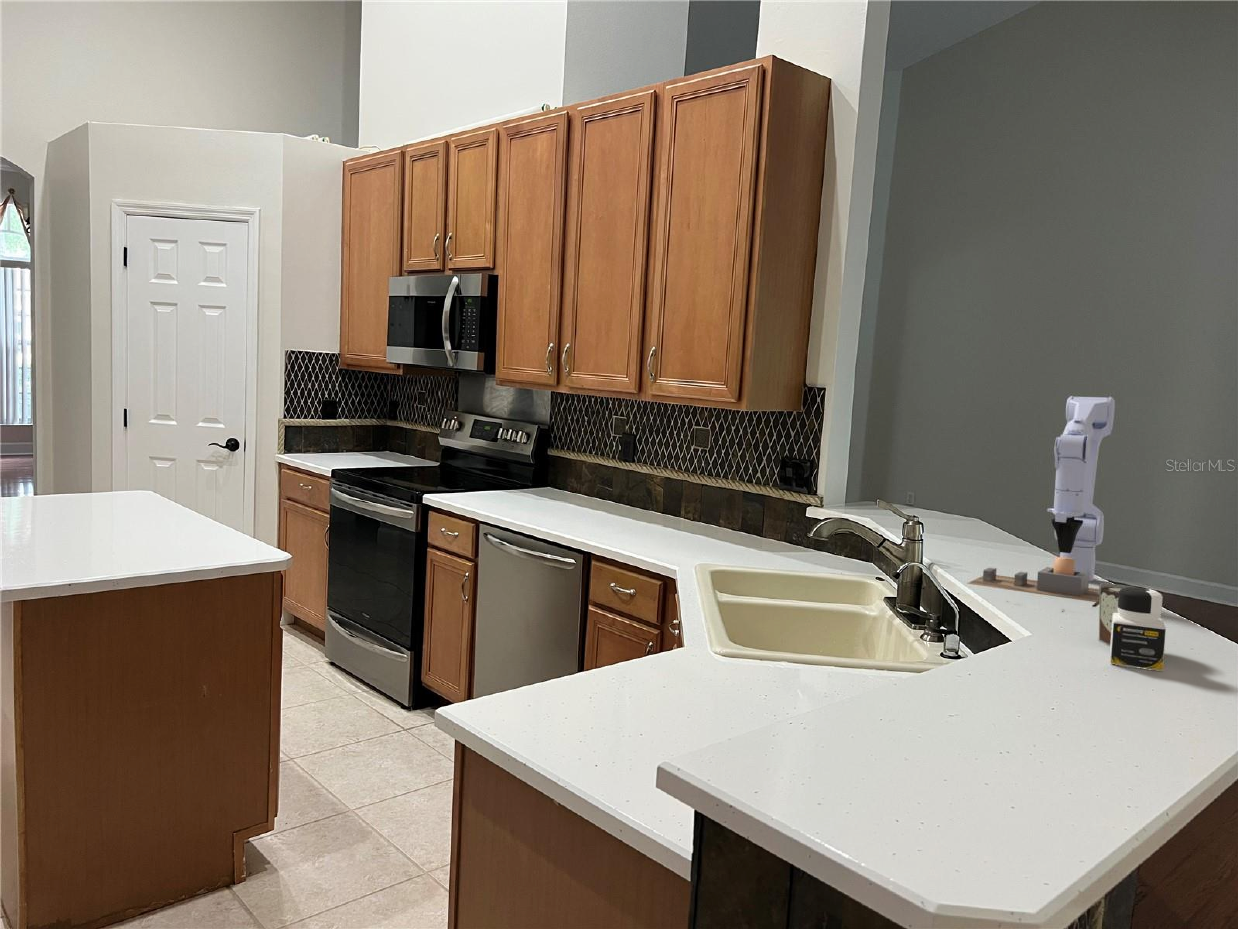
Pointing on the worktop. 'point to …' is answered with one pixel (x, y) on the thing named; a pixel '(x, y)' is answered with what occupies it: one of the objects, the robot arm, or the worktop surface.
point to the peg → (1064, 565)
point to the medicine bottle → (1138, 629)
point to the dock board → (1027, 585)
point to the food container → (1107, 609)
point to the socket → (1063, 582)
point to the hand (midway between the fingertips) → (1065, 552)
